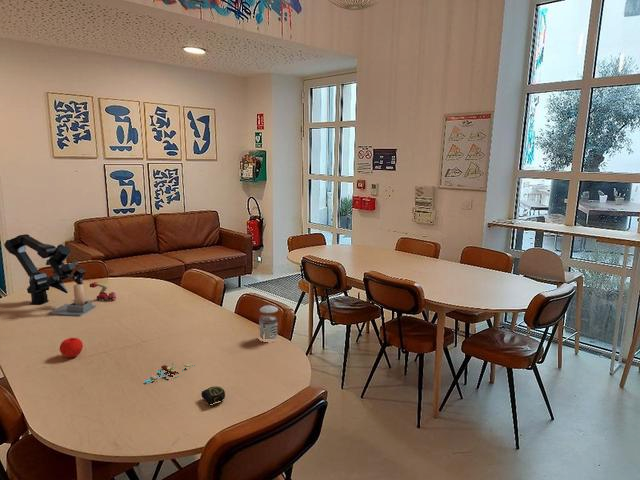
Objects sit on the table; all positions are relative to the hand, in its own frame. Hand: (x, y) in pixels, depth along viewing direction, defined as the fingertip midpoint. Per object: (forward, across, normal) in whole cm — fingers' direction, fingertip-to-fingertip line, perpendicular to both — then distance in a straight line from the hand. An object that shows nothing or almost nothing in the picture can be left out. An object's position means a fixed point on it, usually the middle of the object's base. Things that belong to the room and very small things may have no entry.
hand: (75, 290), depth 218 cm
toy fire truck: (+6, +18, +9) cm, 22 cm away
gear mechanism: (+69, -33, -55) cm, 94 cm away
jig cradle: (+7, -1, +8) cm, 11 cm away
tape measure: (+87, -43, -74) cm, 122 cm away
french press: (+81, +10, -68) cm, 106 cm away
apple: (+38, -38, -24) cm, 59 cm away
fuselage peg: (+9, 0, +5) cm, 10 cm away
